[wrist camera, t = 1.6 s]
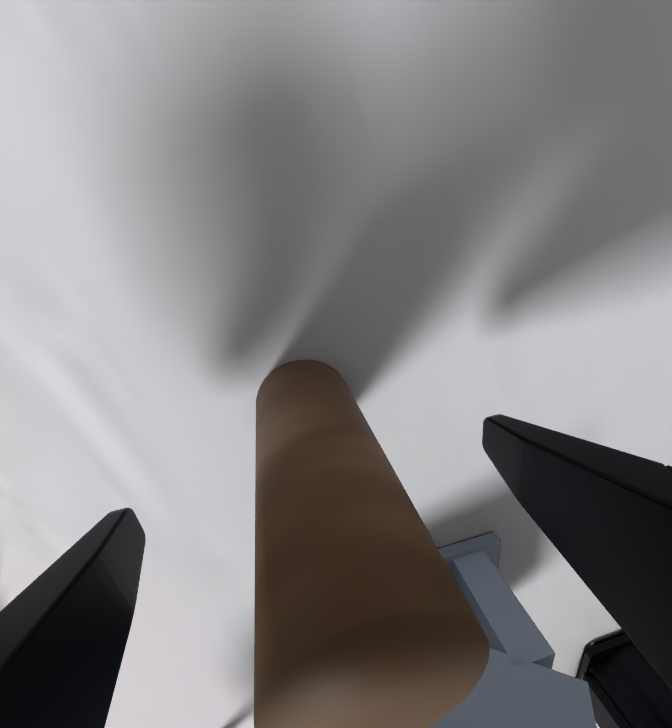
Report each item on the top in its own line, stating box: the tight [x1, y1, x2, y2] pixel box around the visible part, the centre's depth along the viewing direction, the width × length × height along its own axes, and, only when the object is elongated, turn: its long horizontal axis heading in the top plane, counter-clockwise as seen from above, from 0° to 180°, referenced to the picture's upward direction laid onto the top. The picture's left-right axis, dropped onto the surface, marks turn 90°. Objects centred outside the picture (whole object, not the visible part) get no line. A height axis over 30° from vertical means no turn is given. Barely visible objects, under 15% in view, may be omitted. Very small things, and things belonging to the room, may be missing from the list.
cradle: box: [429, 532, 597, 728], centre depth 13 cm, size 11×7×8 cm, turn 97°
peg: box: [254, 360, 489, 728], centre depth 8 cm, size 3×3×8 cm
